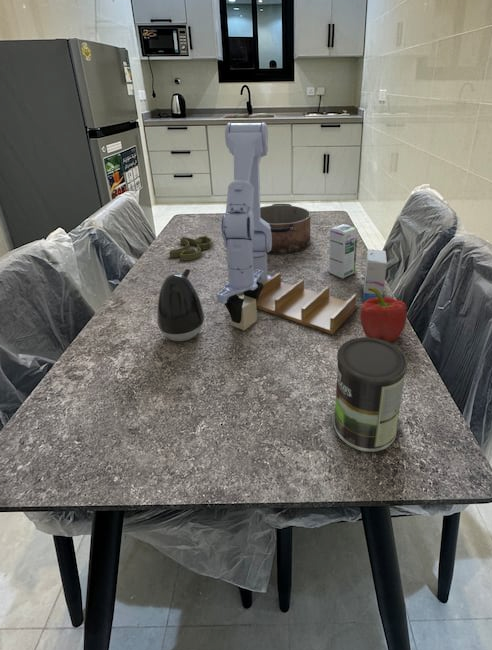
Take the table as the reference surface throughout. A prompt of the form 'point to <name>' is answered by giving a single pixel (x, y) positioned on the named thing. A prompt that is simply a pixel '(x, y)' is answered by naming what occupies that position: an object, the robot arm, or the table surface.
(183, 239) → the cookie cutter
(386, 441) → the coffee can
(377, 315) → the vegetable
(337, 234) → the syrup box
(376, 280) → the ink box
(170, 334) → the black rounded egg shape
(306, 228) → the cooking pot
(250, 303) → the block
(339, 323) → the dish rack
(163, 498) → the table surface
